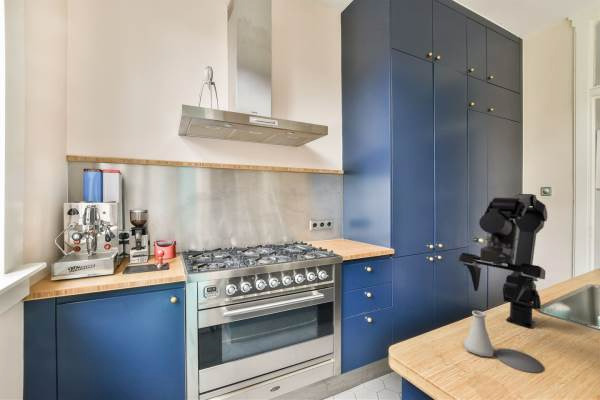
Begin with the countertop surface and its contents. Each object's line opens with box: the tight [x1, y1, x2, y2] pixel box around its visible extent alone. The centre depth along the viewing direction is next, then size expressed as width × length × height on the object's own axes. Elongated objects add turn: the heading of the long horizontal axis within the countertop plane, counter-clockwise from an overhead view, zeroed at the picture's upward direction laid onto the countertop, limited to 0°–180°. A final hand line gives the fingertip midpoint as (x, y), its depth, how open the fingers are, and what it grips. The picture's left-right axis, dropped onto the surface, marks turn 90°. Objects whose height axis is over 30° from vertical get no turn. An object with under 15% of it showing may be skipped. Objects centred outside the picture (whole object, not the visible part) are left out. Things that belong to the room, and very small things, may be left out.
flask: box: [462, 310, 495, 358], centre depth 73 cm, size 7×7×10 cm
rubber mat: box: [494, 348, 544, 374], centre depth 69 cm, size 10×10×1 cm
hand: (494, 296), depth 74 cm, fingers open, 9 cm apart
